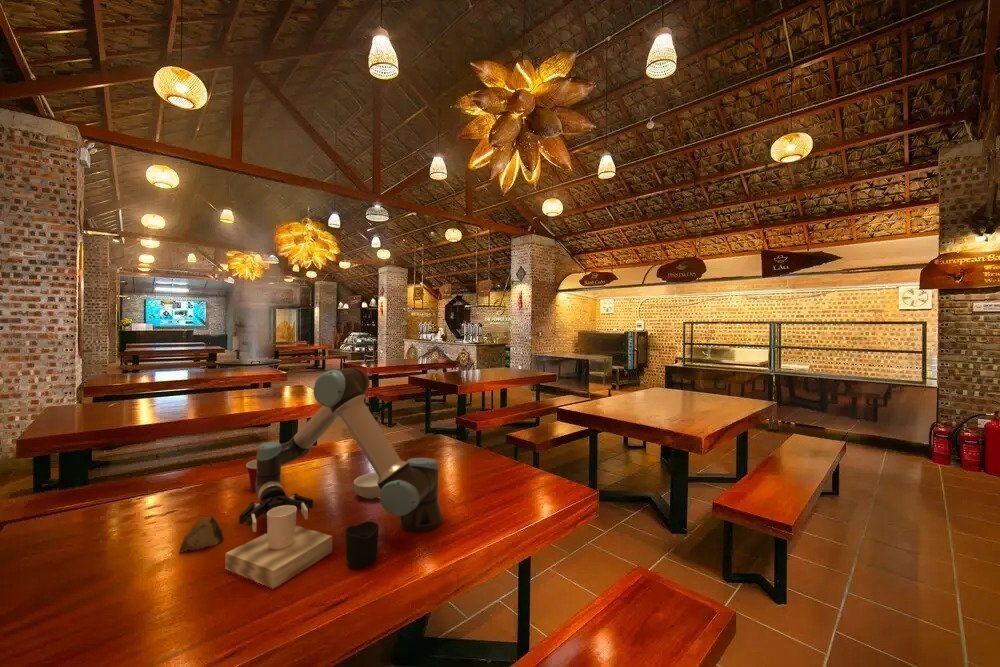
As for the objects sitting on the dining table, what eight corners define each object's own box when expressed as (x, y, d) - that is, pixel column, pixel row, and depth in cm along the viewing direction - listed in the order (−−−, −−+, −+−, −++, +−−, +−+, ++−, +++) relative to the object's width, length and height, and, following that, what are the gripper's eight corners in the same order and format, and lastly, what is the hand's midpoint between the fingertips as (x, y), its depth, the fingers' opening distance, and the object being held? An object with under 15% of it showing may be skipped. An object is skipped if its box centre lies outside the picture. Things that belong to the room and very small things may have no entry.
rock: (168, 551, 119) (203, 545, 119) (177, 520, 124) (211, 515, 125) (190, 556, 127) (223, 551, 128) (199, 527, 132) (230, 522, 133)
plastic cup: (251, 497, 163) (252, 468, 163) (241, 490, 170) (241, 462, 170) (278, 489, 172) (279, 461, 172) (268, 483, 178) (268, 456, 178)
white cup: (301, 537, 122) (302, 505, 122) (286, 551, 114) (287, 517, 114) (276, 536, 123) (277, 504, 123) (260, 550, 115) (260, 516, 115)
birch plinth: (332, 552, 124) (332, 536, 124) (273, 589, 105) (273, 570, 105) (287, 538, 131) (287, 523, 131) (225, 570, 113) (225, 553, 113)
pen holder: (352, 552, 124) (353, 520, 124) (382, 553, 123) (382, 521, 123) (339, 570, 114) (340, 535, 114) (371, 571, 114) (372, 536, 114)
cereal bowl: (378, 484, 179) (379, 469, 179) (403, 493, 169) (403, 477, 169) (345, 496, 165) (345, 479, 165) (369, 507, 156) (369, 489, 156)
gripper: (311, 498, 142) (326, 521, 125) (227, 517, 127) (230, 546, 110) (312, 478, 142) (326, 498, 125) (227, 493, 127) (231, 519, 110)
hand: (281, 520), depth 117 cm, fingers open, 13 cm apart
